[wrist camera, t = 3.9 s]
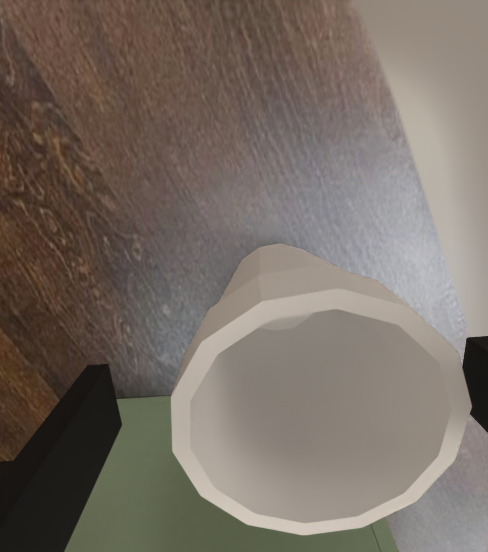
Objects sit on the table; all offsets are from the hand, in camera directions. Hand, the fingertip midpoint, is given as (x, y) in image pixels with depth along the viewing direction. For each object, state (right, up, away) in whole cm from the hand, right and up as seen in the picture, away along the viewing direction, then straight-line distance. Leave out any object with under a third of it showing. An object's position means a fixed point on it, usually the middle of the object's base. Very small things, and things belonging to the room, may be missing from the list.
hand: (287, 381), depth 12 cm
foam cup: (+1, +3, +11) cm, 11 cm away
